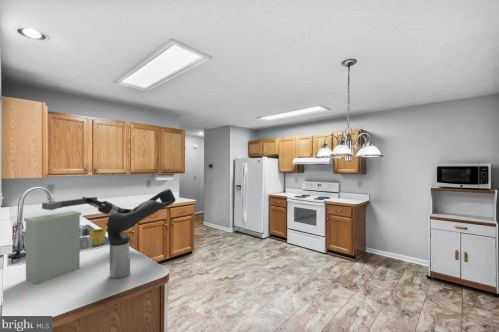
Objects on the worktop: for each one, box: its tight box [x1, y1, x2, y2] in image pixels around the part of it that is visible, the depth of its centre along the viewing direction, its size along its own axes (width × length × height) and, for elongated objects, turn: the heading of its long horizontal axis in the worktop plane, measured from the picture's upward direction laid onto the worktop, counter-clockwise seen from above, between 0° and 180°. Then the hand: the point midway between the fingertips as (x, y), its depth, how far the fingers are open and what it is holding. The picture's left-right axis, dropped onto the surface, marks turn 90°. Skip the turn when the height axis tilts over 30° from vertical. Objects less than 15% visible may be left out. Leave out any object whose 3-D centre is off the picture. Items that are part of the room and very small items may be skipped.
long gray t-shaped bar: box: [41, 196, 98, 211], centre depth 136 cm, size 26×6×3 cm, turn 155°
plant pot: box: [89, 228, 107, 246], centre depth 175 cm, size 10×10×10 cm
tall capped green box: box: [23, 210, 82, 286], centre depth 128 cm, size 21×11×32 cm, turn 155°
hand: (84, 198), depth 141 cm, fingers closed on long gray t-shaped bar, 3 cm apart
